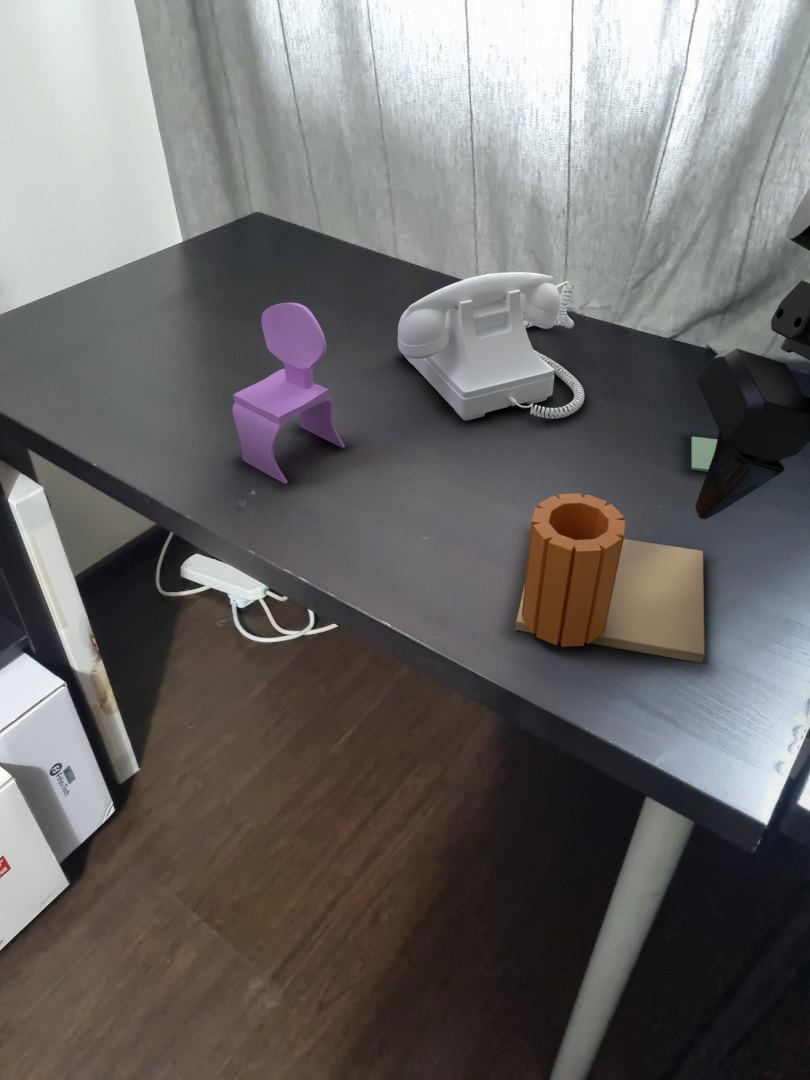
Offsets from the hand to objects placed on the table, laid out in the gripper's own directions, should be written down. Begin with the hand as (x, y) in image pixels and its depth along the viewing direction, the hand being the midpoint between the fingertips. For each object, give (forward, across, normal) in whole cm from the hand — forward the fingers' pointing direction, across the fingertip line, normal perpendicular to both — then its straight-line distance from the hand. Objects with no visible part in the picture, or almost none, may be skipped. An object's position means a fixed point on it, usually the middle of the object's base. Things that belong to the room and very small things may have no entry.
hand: (758, 527), depth 53 cm
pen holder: (+16, +5, -3) cm, 17 cm away
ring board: (+15, 0, -6) cm, 16 cm away
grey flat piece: (+12, -16, -24) cm, 31 cm away
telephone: (+22, +1, -41) cm, 46 cm away
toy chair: (+29, +24, -28) cm, 46 cm away
